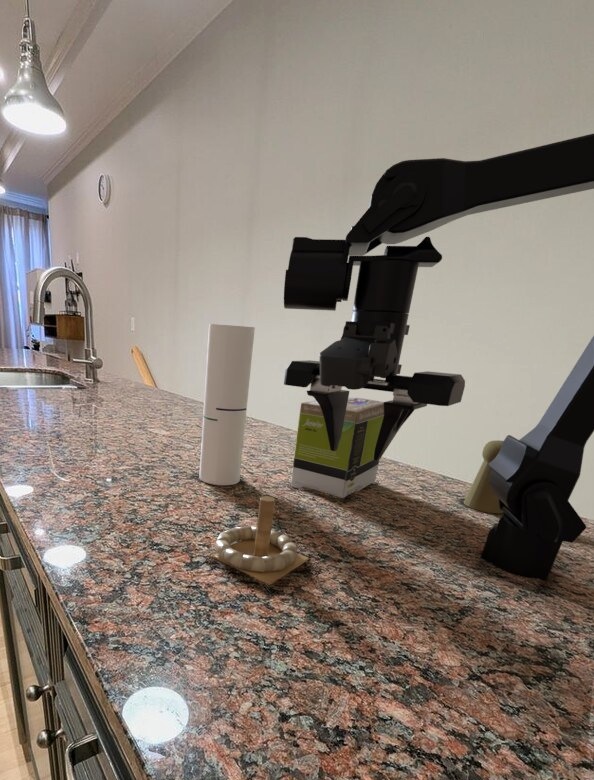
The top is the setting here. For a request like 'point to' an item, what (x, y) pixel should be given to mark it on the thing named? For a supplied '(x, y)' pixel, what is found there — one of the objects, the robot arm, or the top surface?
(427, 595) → the top surface
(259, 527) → the post
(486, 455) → the game pawn
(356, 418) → the tea box
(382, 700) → the top surface
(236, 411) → the cylindrical container
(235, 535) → the bracelet
